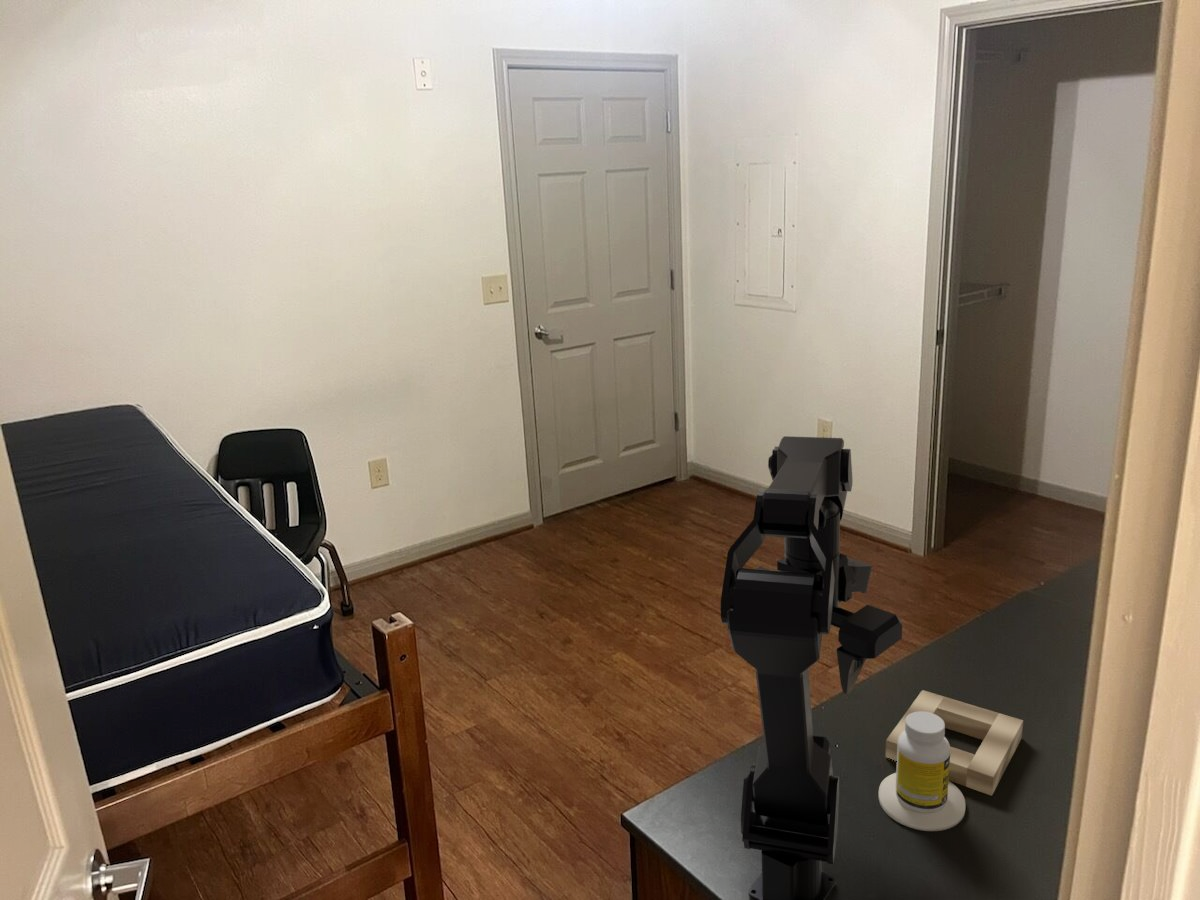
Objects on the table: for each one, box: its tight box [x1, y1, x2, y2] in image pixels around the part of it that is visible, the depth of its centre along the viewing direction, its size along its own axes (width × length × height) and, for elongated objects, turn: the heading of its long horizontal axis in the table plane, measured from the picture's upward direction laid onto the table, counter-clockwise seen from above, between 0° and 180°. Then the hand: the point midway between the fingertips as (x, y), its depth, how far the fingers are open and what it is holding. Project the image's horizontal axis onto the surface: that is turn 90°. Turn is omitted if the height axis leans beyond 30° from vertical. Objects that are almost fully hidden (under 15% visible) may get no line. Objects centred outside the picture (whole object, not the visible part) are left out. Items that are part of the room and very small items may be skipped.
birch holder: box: [885, 689, 1024, 797], centre depth 107 cm, size 12×12×2 cm
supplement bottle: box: [895, 711, 951, 813], centre depth 97 cm, size 5×5×10 cm
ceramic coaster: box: [878, 772, 966, 832], centre depth 99 cm, size 9×9×1 cm
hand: (812, 676), depth 101 cm, fingers open, 9 cm apart
